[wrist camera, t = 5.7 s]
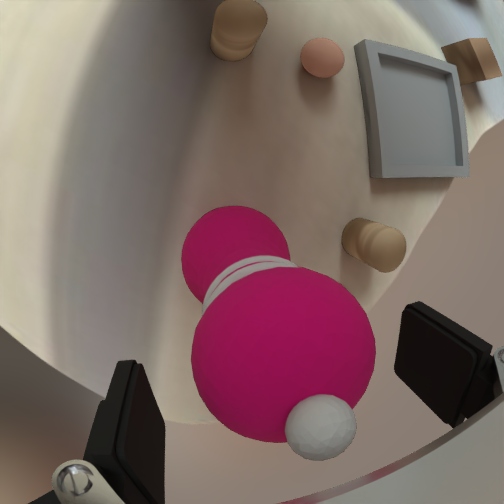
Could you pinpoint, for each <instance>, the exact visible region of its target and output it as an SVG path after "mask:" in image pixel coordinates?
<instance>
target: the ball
mask: <svg viewBox="0 0 504 504" xmlns="http://www.w3.org/2000/svg"><path fill="white" fill-rule="evenodd" d="M301 62H302V64H303V66H304V68H305V69H306V70H307V71H308V72H309V73H310V74H312V75H314V76H317V77H321V78H327V77H332V76H334V75H336V74H337V73H338V72H340V70H341V69H342V67H343V65H344V54H343V51H342V49H341V48H340V47H339V46H338V45H337V44H336V43H335V42H333V41H332V40H329V39H326V38H316V39H312V40H310V41H309V42H307V43H306V44H305V45H304V47H303V48H302V51H301Z"/></svg>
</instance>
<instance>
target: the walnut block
mask: <svg viewBox="0 0 504 504" xmlns="http://www.w3.org/2000/svg"><path fill="white" fill-rule="evenodd" d="M441 49H442V51H443V53H444V55H445V58H446V60H447V62H448V63H450V64H453V65H456V67H457V72H458V77H459V82H460V85H461V84H466V83H472V82H477V81H483V80H488V79H492V78H496V77H500V76H502V73H501V71H500V68H499V66H498V63H497V61H496V58H495V56H494V53H493V51H492V49H491V46H490V44H489V42H488V40H487V38H469V39H466V40H462V41H459V42H456V43H453V44H450V45H447V46H444V47H441Z"/></svg>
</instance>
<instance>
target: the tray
mask: <svg viewBox="0 0 504 504" xmlns="http://www.w3.org/2000/svg"><path fill="white" fill-rule="evenodd" d="M354 49H355V54H356V59H357V65H358V71H359V77H360V83H361V89H362V96H363V104H364V111H365V120H366V129H367V139H368V150H369V164H370V177H375V178H402V177H469V153H468V140H467V129H466V120H465V112H464V105H463V99H462V93H461V87H460V82H459V77H458V72H457V67H456V65H453V64H450V63H448V62H445V61H442V60H439V59H436V58H433V57H430V56H427V55H424V54H421V53H418V52H414V51H411V50H407V49H404V48H400V47H396V46H392V45H388V44H384V43H380V42H375V41H371V40H366V39H364V40H362V41H361V42H359V43H358V44H356V45H355V46H354Z"/></svg>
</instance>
